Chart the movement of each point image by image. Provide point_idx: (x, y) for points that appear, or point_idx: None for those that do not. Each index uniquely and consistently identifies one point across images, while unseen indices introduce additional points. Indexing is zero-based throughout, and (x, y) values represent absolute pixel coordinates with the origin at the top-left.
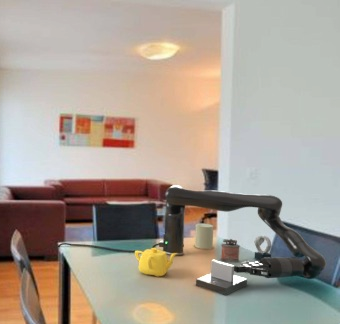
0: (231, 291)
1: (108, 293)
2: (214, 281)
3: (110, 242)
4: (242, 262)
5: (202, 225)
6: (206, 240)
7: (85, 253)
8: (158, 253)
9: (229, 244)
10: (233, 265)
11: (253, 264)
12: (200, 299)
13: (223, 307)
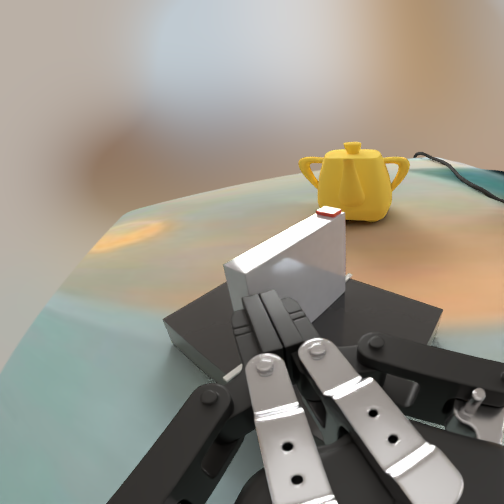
0: (200, 367)
1: (212, 198)
2: None
3: (497, 176)
4: (415, 342)
5: None
6: None
7: (409, 166)
8: (344, 155)
9: None
10: (243, 271)
11: (305, 434)
12: (155, 282)
13: (90, 317)
